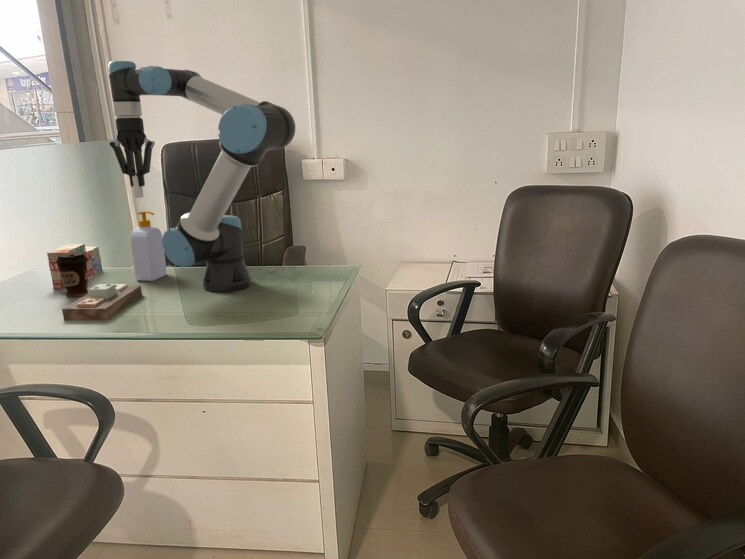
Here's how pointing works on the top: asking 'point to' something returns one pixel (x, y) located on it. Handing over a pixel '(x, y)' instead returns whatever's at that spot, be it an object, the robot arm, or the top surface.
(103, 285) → the tile two
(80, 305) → the tile three
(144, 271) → the soap bottle
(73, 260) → the coffee cup
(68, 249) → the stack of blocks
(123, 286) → the tile one
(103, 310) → the brown flat block
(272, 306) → the top surface
